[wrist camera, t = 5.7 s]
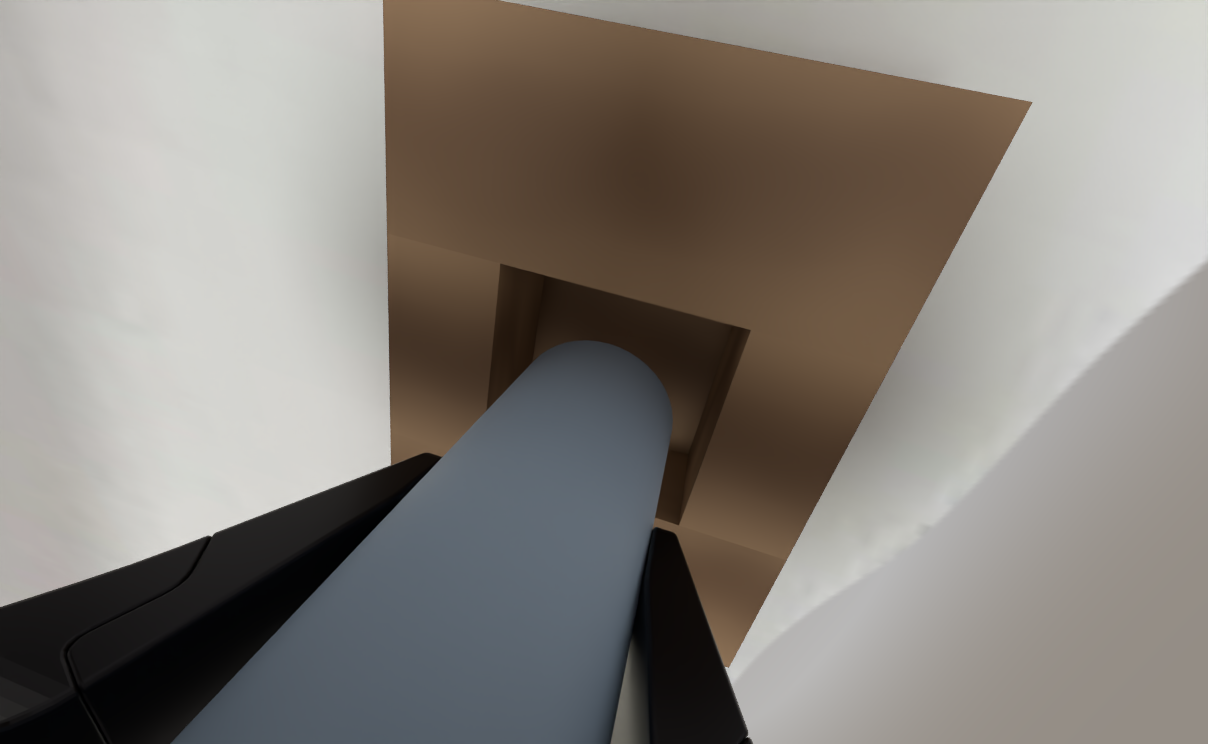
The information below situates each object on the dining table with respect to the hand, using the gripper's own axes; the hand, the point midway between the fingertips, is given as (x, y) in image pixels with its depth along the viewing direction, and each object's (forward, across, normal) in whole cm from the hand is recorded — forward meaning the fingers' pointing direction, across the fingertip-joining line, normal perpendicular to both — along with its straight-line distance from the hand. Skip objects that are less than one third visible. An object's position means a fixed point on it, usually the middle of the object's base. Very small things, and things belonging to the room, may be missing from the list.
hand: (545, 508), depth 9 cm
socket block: (+8, 0, 0) cm, 8 cm away
